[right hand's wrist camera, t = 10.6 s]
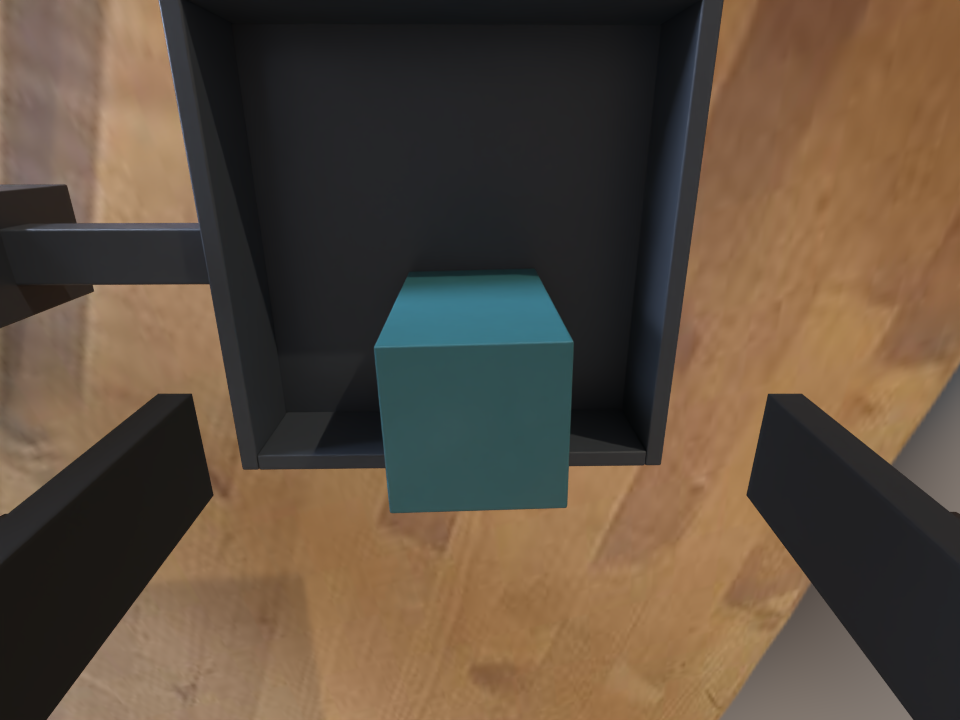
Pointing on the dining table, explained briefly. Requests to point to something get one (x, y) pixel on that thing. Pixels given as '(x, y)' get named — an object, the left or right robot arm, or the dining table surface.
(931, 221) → the dining table surface
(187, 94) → the handled tray
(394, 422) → the teal block
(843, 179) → the dining table surface
